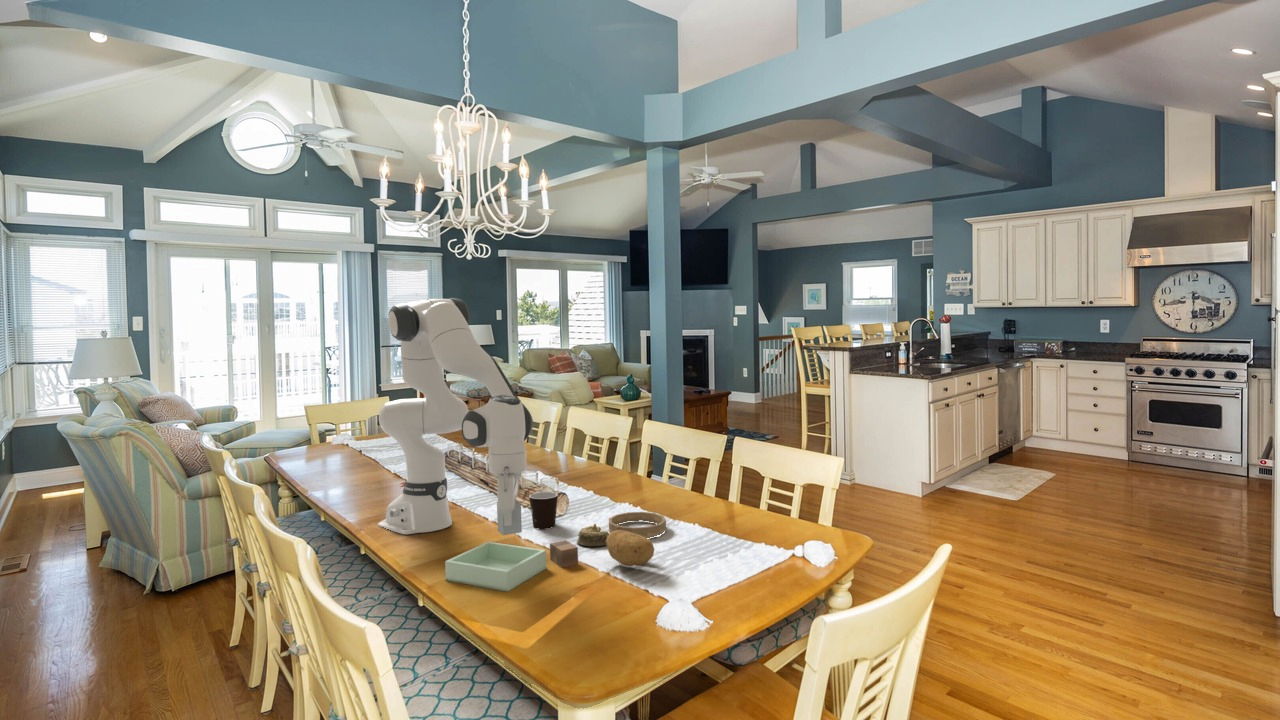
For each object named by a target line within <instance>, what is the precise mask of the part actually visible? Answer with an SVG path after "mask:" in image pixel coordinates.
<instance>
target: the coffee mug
mask: <svg viewBox="0 0 1280 720" xmlns="http://www.w3.org/2000/svg"><path fill="white" fill-rule="evenodd" d="M558 496H559V494H558V493H557V492H553V491H540V492H535V493H531V494H529V496H528V498H529V505H530V511H531V518H532V527H533V528H534V529H536V528H539V529H538V530H546V529H545V528H550V529H552V528H551V527H553V528H554V527H556V518H557V508H558V499H559V498H558Z"/></svg>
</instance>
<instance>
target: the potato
mask: <svg viewBox="0 0 1280 720" xmlns="http://www.w3.org/2000/svg"><path fill="white" fill-rule="evenodd" d="M606 542H607V545H606V549H607V551H608V553H609V557H611V559H613V560H615V561H616V562H618V563H620V564H621V565H622V566H625V567H633V566H643V565H645V564H646V563H648V562H650V560H652V558H653V557H654V555H655V554H654V553H655V547H654V545H653V542H652V541H651V539H647V538H645V537H643V536H641V535H638V534H636V533H631V532H628V531H623V530H615V531H613V532H611V533H610V534H609V535H608V536H607V540H606Z"/></svg>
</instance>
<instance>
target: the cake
mask: <svg viewBox="0 0 1280 720" xmlns="http://www.w3.org/2000/svg"><path fill="white" fill-rule="evenodd" d="M608 535H609V531H605V530H602V529H601V526H597V524H596V523H594V524H593V525H589V526H585V527H583V528H581V529H580V530H579V531H578V539H577V540H576V543H577V544H578V545H580V546H584V547H602V546H607V542H606V540H607V536H608Z"/></svg>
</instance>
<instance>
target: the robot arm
mask: <svg viewBox="0 0 1280 720" xmlns="http://www.w3.org/2000/svg"><path fill="white" fill-rule="evenodd" d="M470 315H471V314H470V310H469V308H468V305H467V304H466V302H465V301H463V299H462V298H455V297H448V298H427V299H423V300H416V301H412V302H411V301H410V302H407V303H406V302H401V303H397V304H395V305H393V306H392V307H391V308H390V310H389V312H388V316H387V317H388V318H387V324H388V329H389V331H390V333H391V335H392V337H394V338H395V340H397V341H399V342H400V356H401V359H400V360H401V371H402V373H401V374H402V380H403V381H404V383H405V384H406V385H407V386H408V387H409V388H412V389H414V390H415V391H418V392H420V393H422V394H423V395H424V397H417V398H416V397H413V398H400V399H395V400H391V401H387V402H385V403H384V404H383V405H382V407H381V408H380V410H379V413H378V423H379V426H380V427H381V429H382V431H383V432H384V433H385V434H386V435H388V436H390V437H391V438H393V439H394V440H395V441H396V443H397V444H398V445H399V446H400V448H401V450H402V452H403V455H404V458H405V465H406V466H405V467H406V468H405V469H406V481H405V482H401V483H400V486H399V487H400V488H403V489H402V493H401V494H400V495H399V496H398V497H397V498H395V499H394V500H392V502H390V503H388V506H387V508H386V513H385V519H383V520H381V521H379V522H378V523H377V527H378V526H380V527H379V528H381V527H384V528H386V529H385V530H387V529H389V530H388V531H390V530H391V532H395V533H397V534H401V535H412V534H418V533H430V532H435V531H440V530H444V529H446V528H448V527H450V526H452V525H453V520H452V518H451V517H452V516H451V513H450V507H449V502H448V496H447V493H448V478H447V477H446V457H445V453H444V452H443V450H442V449H440V448H439V447H438V446H435V445H433V444H430V443H428V442H426V440H425V439H424V437H423V436H424V435H437V434H449V433H453V432H458V431H461V435H462V437H463V439H464V441H465V442H466V443H467V444H468V445H469V446H471V447H473V448H486V447H488V454H487V455H488V472H489V473H490V474H493V476H494V477H493V478H494V479H495V480H497V502H498V511H499V512H503V517H504V525H505V526H510V525H512V511H513V510H514V507H515V502H516V500H517V497H518V492H519V487H520V486H519V484H520V478H521V477H522V472H525V471H526V470H527V448H526V443H525V441H526V440H527V439H528V438H529V436H530V435H531V433H532V431H533V428H534V421H533V420H534V419H533V416H532V414H531V413H530V411H529V409H528V408H527V407H526V405H525V404H524V403H523V402H522V400H521V399H520V398H519V397H518V395H517V394H516V392H515V390H514V388H513V387H512V385H511V383H510V382H509V380H508V378H507V377H506V375H505V373H504V371H503V369H502V368H501V367H500V365H499V364H498V362H497V361H496V359H495V358H494V357H493V356H492V355H490V354H489V353H487V351H485V350H484V349H483V348H482V347H481V345H480V344H479V343H478V341H477V340H476V339H475V337H474V335H473V333H472V330H471V327H470V321H471V318H470V317H471V316H470ZM443 370H445V371H446V372H448V373H451V374H455V375H457V376H463V377H466V378H469V379H473V380H475V381H477V382H479V383H480V384H482V385H483V386H484V387H485V388H486V389H487V391H488V393H489V395H490V396H491V397H490V398H489V400H488V402H487V403H485V404H484V405H482V406H480V407H477V408H475V409H472V410H469V408H468V405H467V404H466V402H465V401H464V400H463V399H461V398H460V397H458V396H456V394H454V393H453V392H452V391H451V390H450V388H449V387H448V385H447V384H446V381H445V378H444V374H443V373H444V372H443ZM384 528H383V529H384Z"/></svg>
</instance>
